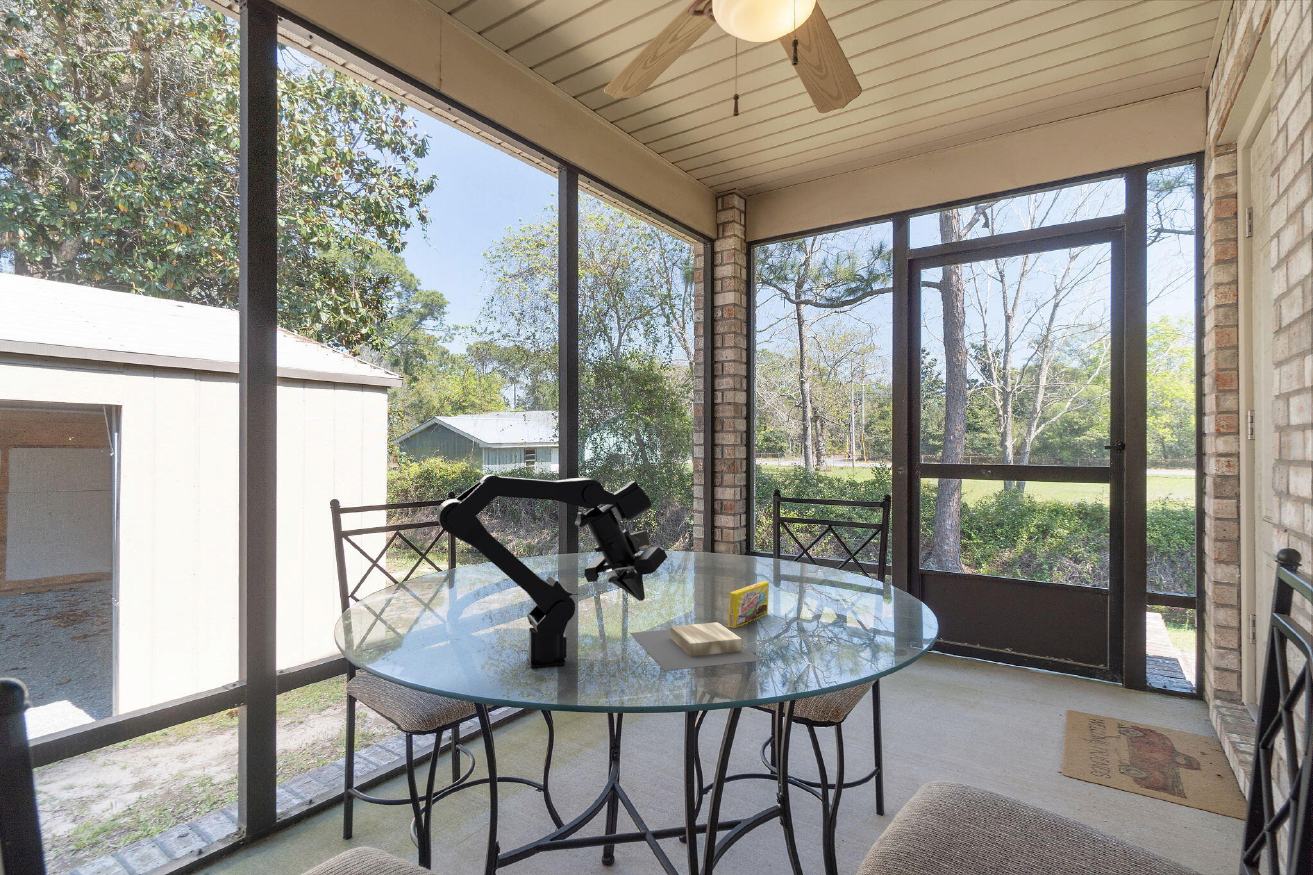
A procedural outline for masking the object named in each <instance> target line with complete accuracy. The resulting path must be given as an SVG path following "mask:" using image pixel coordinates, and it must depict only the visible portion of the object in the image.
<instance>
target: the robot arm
mask: <svg viewBox="0 0 1313 875" xmlns="http://www.w3.org/2000/svg"><path fill="white" fill-rule="evenodd" d="M496 497H497V498H498V497H504V498H516V499H517V498H519V499H532V500H533V499H535V500H546V501H547V500H549V501H556V502H561V503H565V504H569V505H572V506H576V507H580V508H584V509H587V510H588V511H587V512H585V513H583V512H577V516H576V519H575V522H574V525H575V526H577V527H578V528H584V527H585V526H587V528H588V530H589V531H590V534H591V535H592V537H593V539H594V541H595V543H596V544H597V545H596V546H595V547H594V550H595V552H596V553H601V554H602V556H597V557H596V558H594V559H593V560H592V561H591V562H590V563H589V564H588V565H587V566H586V567H585V568H584V573H583V575H584V576H585V579H586V581H587V583H593V582H597V581H598V580H599V579H600V575H599V574H600V573H605V574H607V576H608V577H609V578H608V580H607V581H608V583H609V584H613V585H615V586H617V587H618V588H620V589H622V590H623V591H625V592H626V593H628V594H629V595H630V596H631V597H633V598H635V599H636V600H637V601H639V602H643V601H644V600H645V598H646V595H645V587H644V578H643V576H644V575H650V574H653V573H655V572H656V571H657V570H658V569H659V567H660V566H661V565H662V564H663V563H664V562H665V561H666V559H667V558H668V555H667V553H666V550H664V547H661V546H653V547H648V546H650V545H651V542H650V538H649V534H648V530H647V529H646V530H645V529H644V530H640V531H635V532H631V533H630V531H629V530H628V529H624V530H623V529H622V527H621V526H620V523H619V521H620V522H622V521H625V522H626V523H630V522H632V521H633V520H636V519H637V518H638V517H640V516H641V515H643V514H644V513H646V512H648V511H649V510H651V509H652V503H651V502H652V501H651V499H650V497H649V496H648V494H646V492H645V491H644V490H643V489H642V487H641V486H639V484H638V482H637V481H634V480H631V481H629V482H627V483H626V484H625V485H624V486H623V487H621V488H619V489H618V490H616V491H614V492H612V491H608V490H606V489H604V486H603V485H602V484H601V482H600V481H598V480H597V479H592V478H588V477H575V478H566V479H559V480H549V479H548V480H547V479H536V478H525V477H524V478H521V477H511V476H500V475H499V476H498V475H495V474H486V475H484V476H483V477H482V478H481V479H480V480H479V481H477V482H476V483H475V484H473V485H472V486H471V487H469V488H467V489H466V490H465V491H463V492H462V493H461V494H460V495H458V496H457V497H456V498H452V499H451V498H449V499H447V500H445V501H443V502H442V503H440V505H439V507H438V509H437V511H436V520H437V522H438V524H439V525H440V527H441V528H442V529H443V530H444V531H445V532H446V533H448V534H449V535H451V536H453V537H454V538H456V539H458V540H460V541H462V542H464V543H466V544H468V545H470V546H471V547H473V548H475V549H476V550H477V551H478V552H480V553H481V554H482V555H483V557H484V558H486V559H488V561H490V562H491V563H492V564H493V565H494V566H496V567H497V568H498V569H499V570H500V571H502V572H503V573H504V574H505V575H506V576H507V577H508V578H510V579H511V581H513V583H514V584H516V585H517V586H519V588H521V589H522V590H523V591H524V592H526V593H527V595H528V596H529V598H530V599H531V600H532V601H533V603H534V604H535V606H534V607H532V609H531V610H530V611H529V612H528V613H527V614H526V617H527V619H528V623H529V625H530V626H532V627H529V628H528V654H527V661H528V664H529V666H530V668H532V669H533V668H534V669H535V668H544V667H545V668H546V667H555V666H564V665H566V659H567V654H568V653H567V648H568V647H567V645H568V643H567V640H568V639H567V636H566V634H565V630H566V628H567V626H568V623H569V621H571V619H572V618H573V616H574V615H575V613H576V612H575V611H576V603H575V600H574V599H573V598H572V597H571V596H572V595H573V593H572V592H571V591H569V589H567V588H566V587H565V586H564V585H561V583H560V582H559V581H558V580H557V579H556V578H555V577H553V576H552V575H548V577H547V578H546V579H544V578H542V577H540V576H538V575H537V574H536V573H535V572H533V570H531V569H530V568H529V567H528V566H527V565H526V564H524V563H523V561H521V560H520V559H519V558H518V557H516V556H515V555H514V554H513V553H512V552H511V551H510V550H509V549H508V548H507V547H505V546H504V545H503V544H502V543H501V542H500V541H498V539H496V538H495V537H494V536H493V535H492V534H491V533H490V532H489V531H488V530H487V528H486V527H485V526H484V524H483V523H482V522H481V521H480V519H479V518H478V517H477V516H478V515H479V514H481V512H482V511H483V510H484V509H485V508H486V507H487V506H488V505H489V504H490V503H491V502H492V501H493V500H494V499H495V498H496ZM600 505H604V506H602V507H600V508H599V507H598V506H600ZM645 546H647V547H648V548H646V549H645V550H643V552H642V553H640V554H638V553H639V552H640V551H641V548H642V547H645ZM636 554H638V555H636Z"/></svg>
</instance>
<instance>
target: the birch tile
mask: <svg viewBox="0 0 1313 875" xmlns="http://www.w3.org/2000/svg"><path fill="white" fill-rule="evenodd" d="M669 628H670V638H671V639H672V640H673V641H674V642H675V643H676V644H677V645H679V646H680V647H681V648H682V649H683V650H684V651H685V652H686V653H687V654H688V655H690V656H698V655H708V654H718V653H727V652H737V651H741V645H742V638H741V637H740V636H738V635H737V634H735V633H734V632H732V631H731V630H729V629H728V628H726V627H725V626H724V625H722V624H721V623H719V622H718V621H717V622H707V623H705V622H704V623H694V624H684V625H683V624H681V625H672V626H670V627H669Z"/></svg>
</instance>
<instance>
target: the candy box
mask: <svg viewBox="0 0 1313 875" xmlns="http://www.w3.org/2000/svg"><path fill="white" fill-rule="evenodd" d="M769 584H770V582H768V581H765V580H762V581H759V582H757V583H754V584H750V585H747V586H745V587H742V588H740V589H736V590H733V591H730V592H729V604H728V606H729V607H728V625H727V626H728V628H732V629H736V628H738V627H740V626H741V627H743V626H745V625H748V624H749V623H748V622H750V623H752V622H753V621H752V620H754V621H756V620H758V619H761V618H763V617H765V616H767V615H768V613H769V611H768V610H769V591H770V590H769ZM764 615H765V616H764ZM760 617H761V618H760ZM755 619H756V620H755ZM751 621H752V622H751ZM744 624H745V625H744Z"/></svg>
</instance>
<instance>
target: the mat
mask: <svg viewBox="0 0 1313 875" xmlns="http://www.w3.org/2000/svg"><path fill="white" fill-rule="evenodd" d="M629 634H630V635H631V636H632V638H634V640H635V641H636V642H637V643H638V644H639V645H640V646H641V647H642V648H643V649H644V650H645V651H646V653H647V654H648V655H649V656H650V657H651V658H652V659H653V661H655V663H656V664H658V666H660V668H661V669H662V670H663V671H664V672H669V671H679V670H687V669H688V670H689V669H695V668H704V667H714V666H722V665H732V664H742V663H750V662H759V661H762V659H761V657H759V656H757V655H755V654H754V653H753V652H752V651H750V650H749V649H747V648H746V647H745V646H743V645H742V644H741V651H737V652H727V653H718V654H708V655H698V656H690V655H688V654H687V653H686V652H685V651H684V650H683V649H682V648H681V647H680V646H679V645H677V644H676V643H675V642H674V641H673V640H672V639H671V638H670V629H658V630H656V629H655V630H649V631H648V630H647V631H635V632H629Z"/></svg>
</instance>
